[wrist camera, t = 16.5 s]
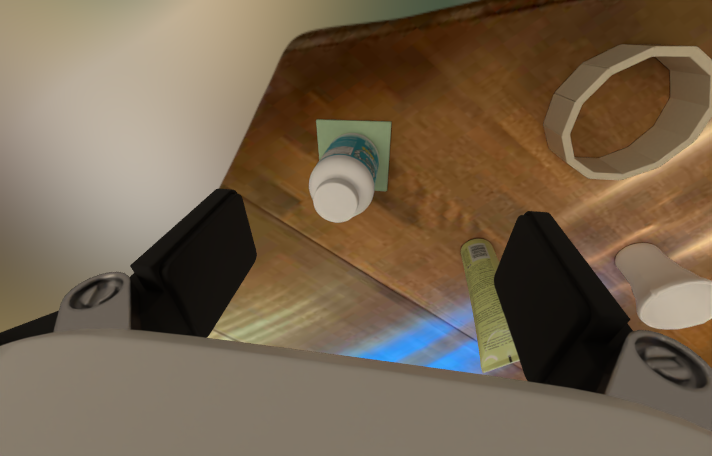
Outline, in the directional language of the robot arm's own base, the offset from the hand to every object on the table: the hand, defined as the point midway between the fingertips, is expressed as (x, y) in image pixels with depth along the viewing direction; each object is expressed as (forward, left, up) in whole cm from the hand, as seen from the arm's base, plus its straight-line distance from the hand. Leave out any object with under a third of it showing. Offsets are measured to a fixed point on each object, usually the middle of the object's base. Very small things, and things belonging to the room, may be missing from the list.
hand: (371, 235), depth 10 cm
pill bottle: (+9, -5, -31) cm, 32 cm away
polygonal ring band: (+2, +25, -31) cm, 40 cm away
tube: (+24, +15, -31) cm, 42 cm away
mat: (+9, -5, -31) cm, 32 cm away
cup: (+23, +38, -31) cm, 54 cm away
